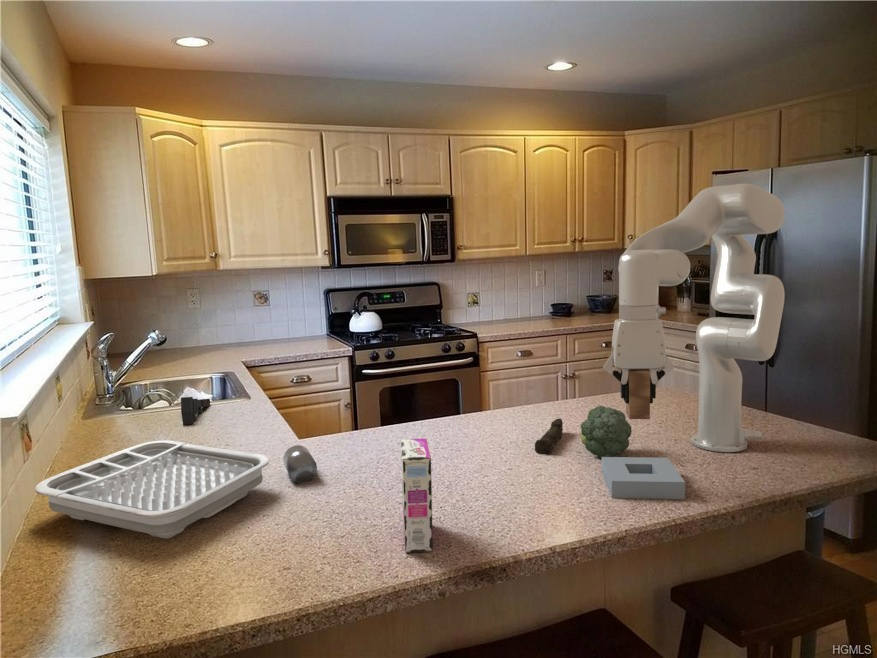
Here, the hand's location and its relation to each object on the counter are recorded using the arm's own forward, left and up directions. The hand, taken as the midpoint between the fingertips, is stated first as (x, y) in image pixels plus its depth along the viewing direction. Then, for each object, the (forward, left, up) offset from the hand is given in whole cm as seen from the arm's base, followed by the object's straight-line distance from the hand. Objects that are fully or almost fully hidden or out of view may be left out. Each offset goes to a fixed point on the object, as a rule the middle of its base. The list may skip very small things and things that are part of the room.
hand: (638, 400), depth 126 cm
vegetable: (+4, -20, -18) cm, 27 cm away
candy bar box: (+42, +26, -18) cm, 53 cm away
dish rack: (+97, +16, -18) cm, 100 cm away
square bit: (0, 0, -3) cm, 3 cm away
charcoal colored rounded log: (+16, -27, -18) cm, 36 cm away
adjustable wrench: (+126, -52, -18) cm, 137 cm away
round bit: (+76, -5, -15) cm, 77 cm away
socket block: (-1, 0, -18) cm, 18 cm away
